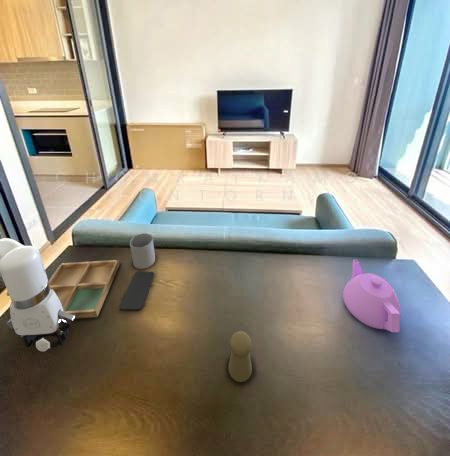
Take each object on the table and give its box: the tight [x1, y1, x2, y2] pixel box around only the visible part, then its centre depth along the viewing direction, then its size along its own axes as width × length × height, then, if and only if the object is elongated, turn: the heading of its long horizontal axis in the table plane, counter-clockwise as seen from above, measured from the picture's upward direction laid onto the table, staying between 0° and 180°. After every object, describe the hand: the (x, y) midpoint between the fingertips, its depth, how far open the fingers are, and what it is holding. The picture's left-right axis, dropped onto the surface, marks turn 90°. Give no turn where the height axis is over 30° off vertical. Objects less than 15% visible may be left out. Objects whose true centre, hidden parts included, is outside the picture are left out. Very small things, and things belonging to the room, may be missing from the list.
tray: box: [48, 259, 120, 320], centre depth 86 cm, size 21×21×2 cm
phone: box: [119, 270, 155, 312], centre depth 86 cm, size 7×1×15 cm
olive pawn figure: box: [228, 330, 253, 383], centre depth 62 cm, size 6×6×11 cm
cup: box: [129, 232, 156, 270], centre depth 97 cm, size 8×8×10 cm
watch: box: [32, 332, 61, 352], centre depth 68 cm, size 8×5×4 cm, turn 87°
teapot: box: [342, 259, 402, 333], centre depth 77 cm, size 22×16×12 cm
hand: (48, 340), depth 68 cm, fingers closed on watch, 7 cm apart
